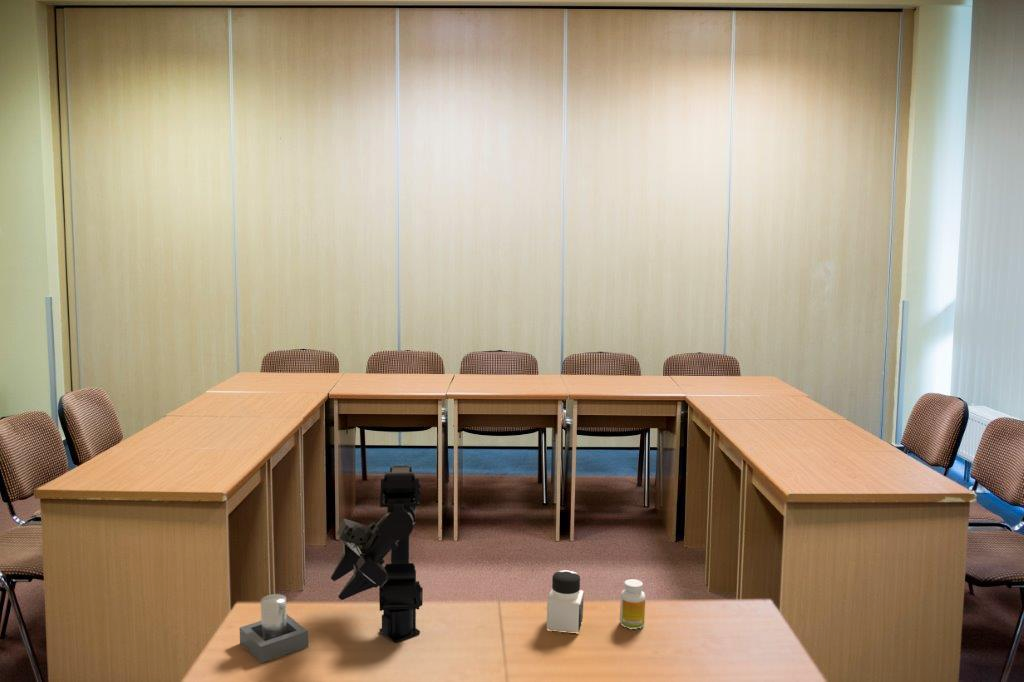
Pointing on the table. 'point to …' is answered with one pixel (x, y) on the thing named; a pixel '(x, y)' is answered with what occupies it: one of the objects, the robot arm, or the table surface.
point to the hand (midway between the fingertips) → (335, 588)
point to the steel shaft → (273, 616)
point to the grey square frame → (273, 641)
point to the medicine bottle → (565, 602)
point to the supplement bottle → (632, 604)
